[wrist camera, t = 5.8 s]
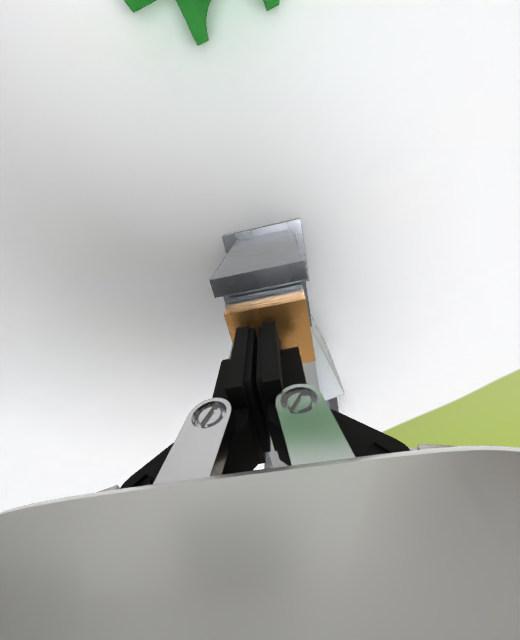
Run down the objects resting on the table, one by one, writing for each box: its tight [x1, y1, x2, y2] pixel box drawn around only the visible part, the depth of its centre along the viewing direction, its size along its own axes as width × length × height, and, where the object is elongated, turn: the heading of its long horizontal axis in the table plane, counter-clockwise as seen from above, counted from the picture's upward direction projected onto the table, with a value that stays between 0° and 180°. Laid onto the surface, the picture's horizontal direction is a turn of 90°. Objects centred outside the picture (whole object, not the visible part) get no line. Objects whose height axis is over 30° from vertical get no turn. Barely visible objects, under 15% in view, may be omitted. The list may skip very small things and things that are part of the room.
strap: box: [224, 284, 320, 468], centre depth 15 cm, size 14×4×2 cm, turn 12°
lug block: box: [210, 218, 312, 327], centre depth 17 cm, size 5×6×11 cm
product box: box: [229, 314, 344, 401], centre depth 21 cm, size 6×6×7 cm
